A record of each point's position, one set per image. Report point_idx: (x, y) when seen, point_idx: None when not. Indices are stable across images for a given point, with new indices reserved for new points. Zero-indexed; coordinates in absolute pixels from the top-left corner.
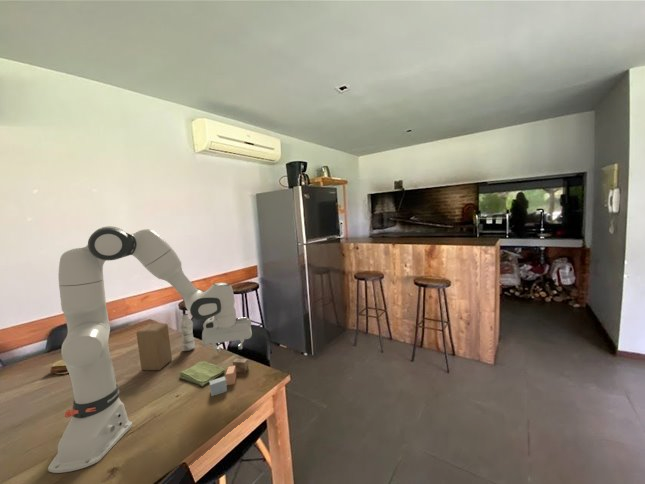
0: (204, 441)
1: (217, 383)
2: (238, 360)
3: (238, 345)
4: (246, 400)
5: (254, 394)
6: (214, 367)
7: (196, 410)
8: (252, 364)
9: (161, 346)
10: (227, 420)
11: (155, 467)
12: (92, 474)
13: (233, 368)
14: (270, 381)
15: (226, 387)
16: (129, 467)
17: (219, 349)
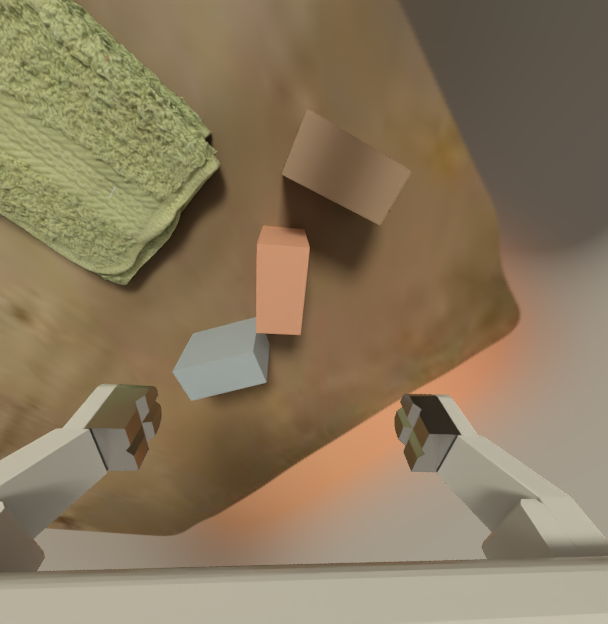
0: (245, 497)
1: (225, 389)
2: (332, 165)
3: (419, 461)
4: (349, 407)
5: (380, 387)
6: (114, 105)
7: (175, 413)
8: (418, 103)
9: None
10: (292, 461)
11: (160, 524)
12: None
13: (298, 284)
14: (460, 331)
15: (268, 355)
16: (98, 519)
17: (143, 413)
